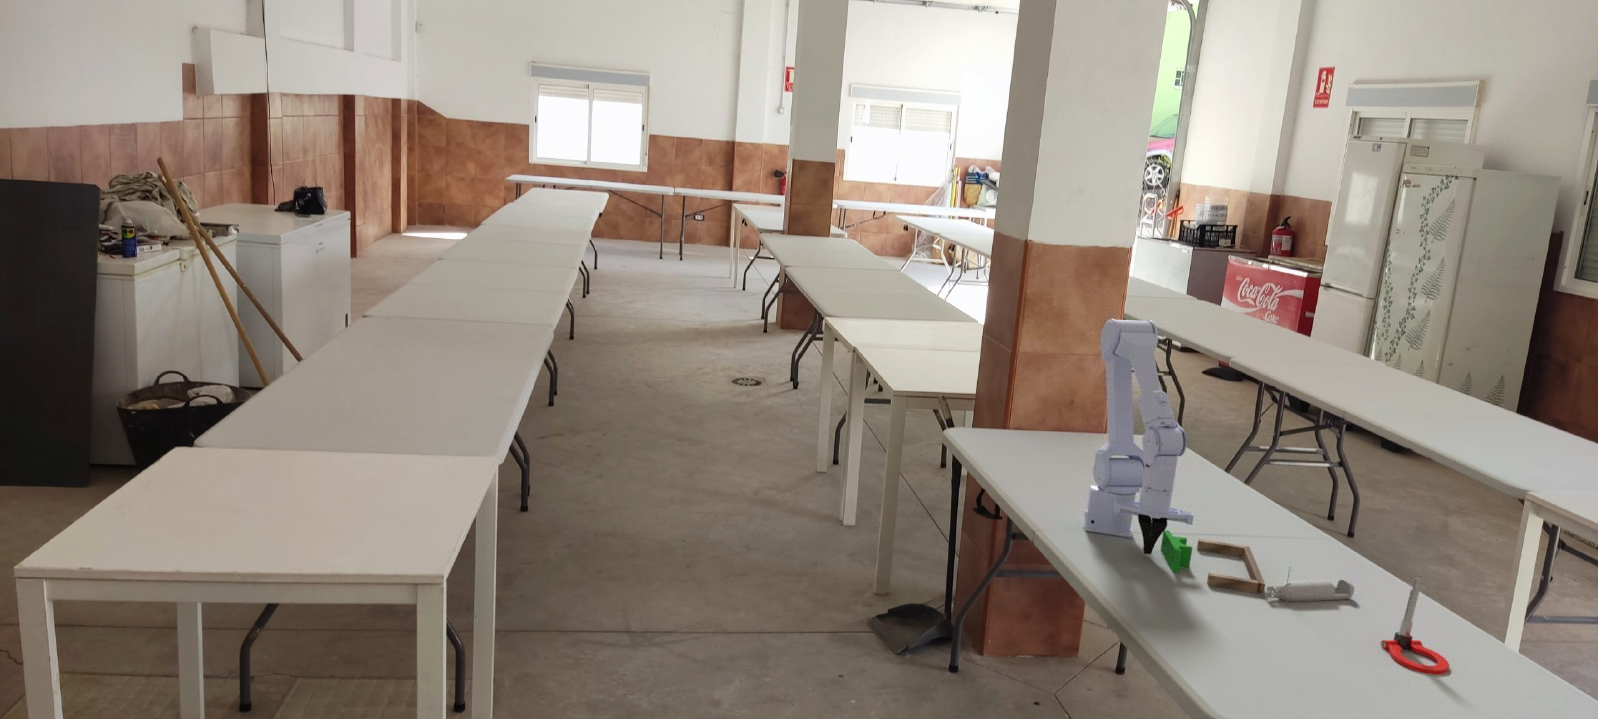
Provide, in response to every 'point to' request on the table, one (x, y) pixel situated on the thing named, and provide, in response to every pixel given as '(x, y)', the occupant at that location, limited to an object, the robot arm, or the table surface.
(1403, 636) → the tow hook
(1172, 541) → the pipe clamp
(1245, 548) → the walnut bay
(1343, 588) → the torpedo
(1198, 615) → the table surface
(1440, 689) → the table surface
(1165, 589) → the table surface
